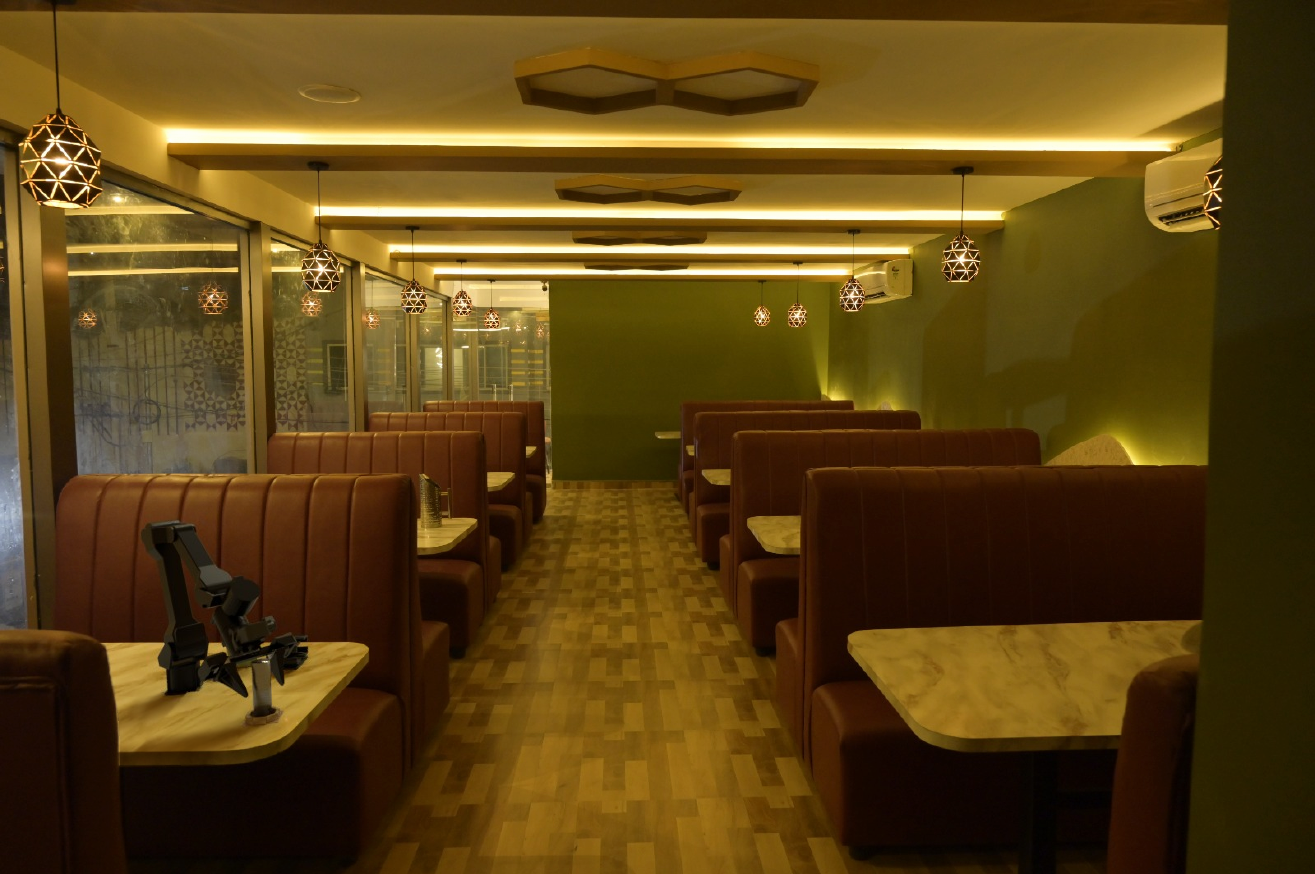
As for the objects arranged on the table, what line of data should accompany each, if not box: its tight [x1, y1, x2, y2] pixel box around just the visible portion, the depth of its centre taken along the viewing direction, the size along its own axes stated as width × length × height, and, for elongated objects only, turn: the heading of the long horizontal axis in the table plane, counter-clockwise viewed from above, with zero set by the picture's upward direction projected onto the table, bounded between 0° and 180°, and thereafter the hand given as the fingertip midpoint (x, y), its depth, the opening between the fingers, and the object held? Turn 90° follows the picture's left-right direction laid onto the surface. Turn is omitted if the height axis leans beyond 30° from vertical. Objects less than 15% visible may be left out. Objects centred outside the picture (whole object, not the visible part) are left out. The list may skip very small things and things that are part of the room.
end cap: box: [265, 631, 309, 671], centre depth 206 cm, size 10×7×7 cm
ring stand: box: [241, 705, 285, 727], centre depth 171 cm, size 7×6×2 cm
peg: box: [251, 657, 273, 718], centre depth 170 cm, size 4×4×12 cm
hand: (265, 690), depth 169 cm, fingers open, 7 cm apart
